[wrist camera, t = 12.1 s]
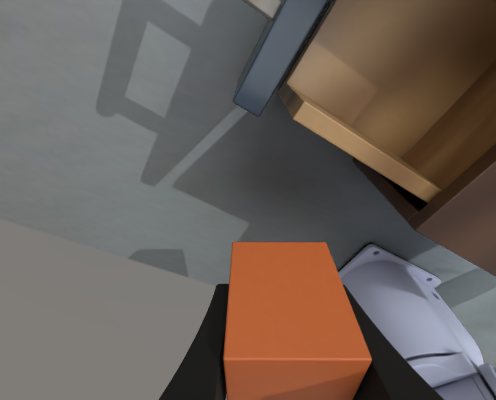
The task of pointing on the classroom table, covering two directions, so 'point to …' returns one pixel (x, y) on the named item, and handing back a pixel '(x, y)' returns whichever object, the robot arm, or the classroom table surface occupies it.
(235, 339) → the block
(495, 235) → the cabinet
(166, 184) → the classroom table surface
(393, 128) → the drawer
